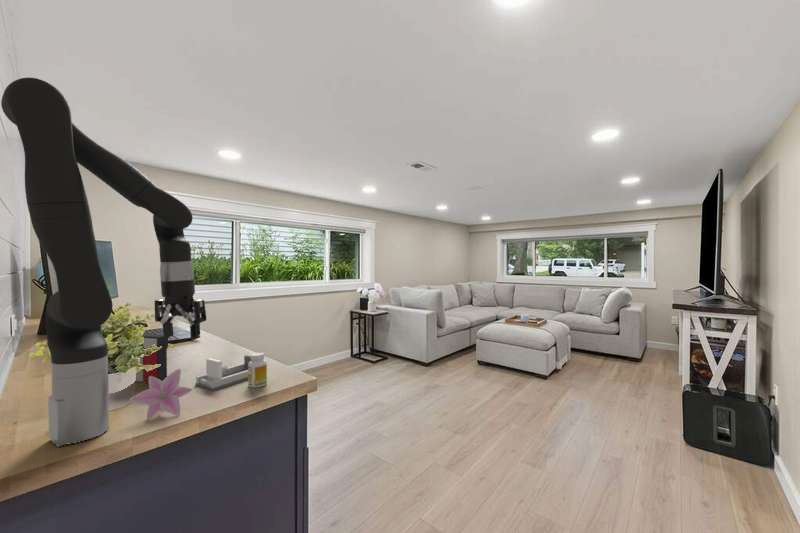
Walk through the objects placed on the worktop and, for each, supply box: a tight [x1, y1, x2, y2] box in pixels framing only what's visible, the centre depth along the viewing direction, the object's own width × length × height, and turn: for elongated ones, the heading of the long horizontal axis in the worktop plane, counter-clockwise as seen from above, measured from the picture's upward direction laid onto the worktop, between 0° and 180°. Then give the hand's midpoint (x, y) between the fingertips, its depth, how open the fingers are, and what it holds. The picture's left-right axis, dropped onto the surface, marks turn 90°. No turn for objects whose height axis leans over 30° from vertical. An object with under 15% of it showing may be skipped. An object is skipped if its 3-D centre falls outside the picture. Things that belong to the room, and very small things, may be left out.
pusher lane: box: [194, 354, 251, 392], centre depth 111 cm, size 17×10×6 cm, turn 149°
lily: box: [128, 368, 193, 420], centre depth 88 cm, size 12×12×10 cm
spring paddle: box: [205, 357, 228, 381], centre depth 108 cm, size 4×6×7 cm, turn 59°
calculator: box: [136, 333, 169, 384], centre depth 110 cm, size 11×4×15 cm, turn 76°
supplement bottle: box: [247, 352, 268, 388], centre depth 107 cm, size 5×5×10 cm
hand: (182, 337), depth 92 cm, fingers open, 8 cm apart
